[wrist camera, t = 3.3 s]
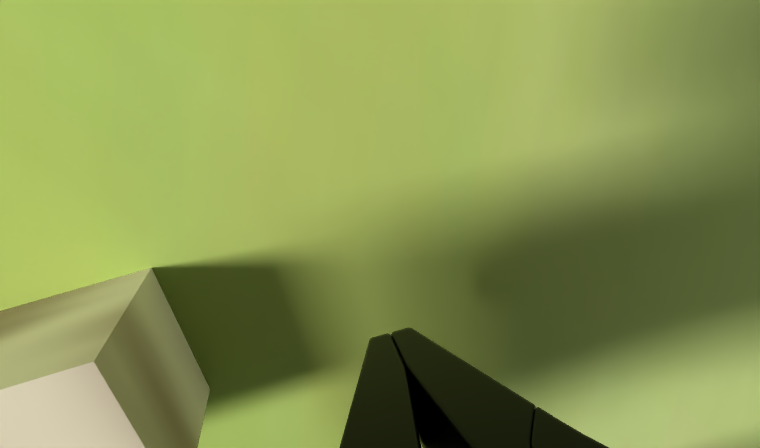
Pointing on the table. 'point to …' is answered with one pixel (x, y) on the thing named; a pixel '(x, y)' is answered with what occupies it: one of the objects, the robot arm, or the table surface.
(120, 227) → the table surface
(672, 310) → the table surface
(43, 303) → the block
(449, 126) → the table surface
